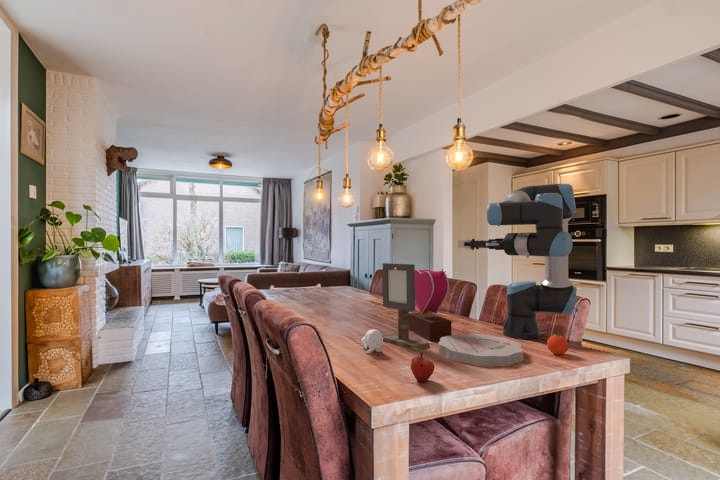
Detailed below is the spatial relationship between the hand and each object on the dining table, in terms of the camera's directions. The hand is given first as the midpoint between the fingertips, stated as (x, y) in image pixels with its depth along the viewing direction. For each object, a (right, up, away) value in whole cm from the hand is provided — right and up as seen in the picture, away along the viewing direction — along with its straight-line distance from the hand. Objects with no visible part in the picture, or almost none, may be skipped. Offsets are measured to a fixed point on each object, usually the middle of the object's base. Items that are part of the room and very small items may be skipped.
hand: (459, 244), depth 143 cm
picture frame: (-22, -26, +9) cm, 35 cm away
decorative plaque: (+7, -41, -3) cm, 41 cm away
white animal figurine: (-34, -40, 0) cm, 53 cm away
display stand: (-21, -40, +10) cm, 46 cm away
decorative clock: (-7, -40, +23) cm, 47 cm away
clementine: (+34, -40, -5) cm, 53 cm away
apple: (-19, -40, -32) cm, 55 cm away
